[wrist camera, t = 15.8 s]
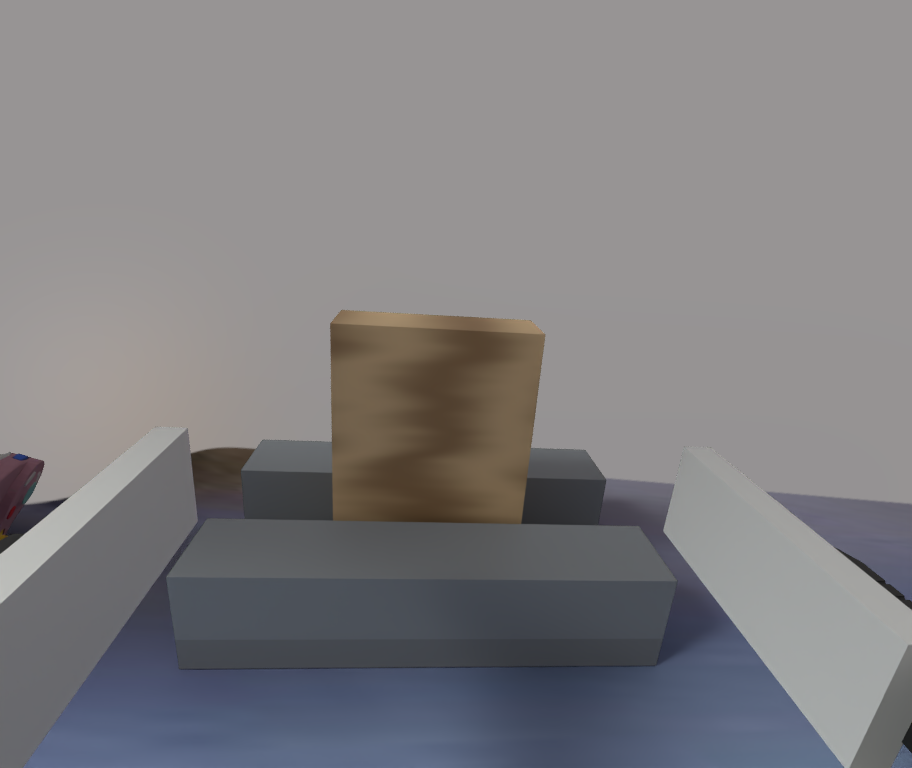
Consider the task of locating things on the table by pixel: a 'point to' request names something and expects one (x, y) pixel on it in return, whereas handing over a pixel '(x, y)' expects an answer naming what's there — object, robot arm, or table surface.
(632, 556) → the grooved sill
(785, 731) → the table surface
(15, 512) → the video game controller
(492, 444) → the oak plank
